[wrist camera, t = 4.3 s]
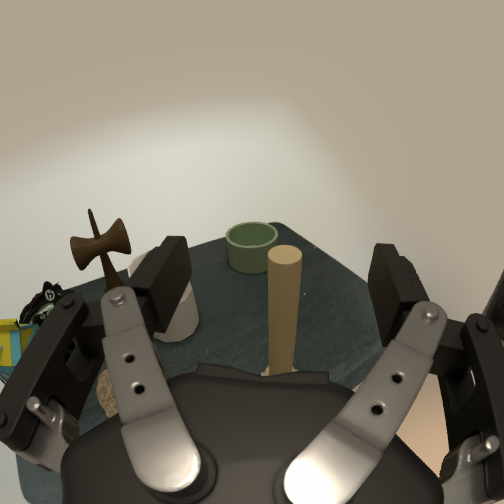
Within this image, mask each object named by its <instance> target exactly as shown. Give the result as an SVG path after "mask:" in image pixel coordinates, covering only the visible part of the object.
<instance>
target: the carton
mask: <svg viewBox="0 0 504 504" xmlns="http://www.w3.org/2000/svg"><path fill="white" fill-rule="evenodd" d="M39 328H40V324H39V323H31V324H18V321H17V319H5V320H0V380H1V381H2V382H3V383H4V384H6V382H7V380H8V379H9V377H10V375H11V373H12V371H13V370H14V368H15V366H16V364H17V363H18V361H19V359H20V358H21V356H22V354H23V353H24V351H25V349H26V348H27V346H28V345H29V343H30V341H31V340H32V338H33V337H34V335H35V334H36V332H37V331H38V329H39ZM64 361H65V360H64ZM65 364H66V361H65Z"/></svg>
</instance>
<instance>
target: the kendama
mask: <svg viewBox="0 0 504 504" xmlns="http://www.w3.org/2000/svg"><path fill="white" fill-rule="evenodd" d="M88 214H89V219H90V223H91V226H92V230H93V234H94V238H90V239H87V238H80V237H71V239H70V245H71V250H72V254H73V257H74V260H75V262H76V264H77V266H78V268H79V269H80V270H84V269H85V268H86V267H87V265H89V263H90V262H91V261H92V260H93V259H94V258H95V257H96V256H98V255H100V258H101V262H102V266H103V270H104V275H105V279H106V285H107V286H106V288H105V294H106V293H107V292H108V291H110V290H111V289H114V288H116V287H122V286H124V285H125V284H126V281H123V280H121V279H120V277H119V276H118V274H117V272H116V270H115V269H114V267H113V265H112V263H111V261H110V258H109V256H108V254H107V252H110V251H115V252H120V253H124V254H131V246H130V242H129V238H128V235H127V231H126V229H125V226H124V223H123V222H122V220H121V219H120V218H118V219H117V220H116V221H115V222H114V224H113V225H112V226H111V228H110V229H109V230H108V231H107V232H106V233H104V234H102V235H100V233H99V231H98V228H97V225H96V222H95V219H94V216H93V213H92V211H91V209H88Z"/></svg>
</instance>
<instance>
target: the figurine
mask: <svg viewBox="0 0 504 504" xmlns="http://www.w3.org/2000/svg"><path fill="white" fill-rule="evenodd" d="M70 293H76V292H75V291H73V290H62V288H61V286H60V285H58V283H57V284H55V285H52V284H51V283H50V282H48V281H46V282H44V285H43V290H42V292H40V293H38V294H36V295H35V297H34V298H33V299H32V301H31V302H30V303H29V304H28V305H26V306H25V308H24V309H23V311H22V313H21V315H20V320H19V324H31V323H39V324H40V326H41V325H42V323H43V322H44V320H45V319H46V317H47V316H48V314H49V313H50V311H51V310H52V309H53V307H54V306H55V304H56V303H57V302H58V301H59V300H60V299H61V298H62V297H63V296H65V295H67V294H70ZM72 342H73V340H72V341H71V343H72ZM72 352H73V350H71V349H67V350H66V352H65V355H64V358H65V356H66V355H67V354H69V353H71V354H72Z"/></svg>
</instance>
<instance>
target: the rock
mask: <svg viewBox="0 0 504 504" xmlns="http://www.w3.org/2000/svg"><path fill="white" fill-rule="evenodd" d="M96 393H97V399H98V400H99V403H100V405H101V406H102V407H103V409H104V410H105V411H106V416H107V417H108V418H110V417H112V416H113V415H115V414H117V413H118V409H117V405H116V401H115V398H114V394H113V390H112V386H111V382H110V378H109V373H108V369H105V370H104V371H103V372H102V373H101V374H100V376H99V378H98V385H97V389H96Z"/></svg>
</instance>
